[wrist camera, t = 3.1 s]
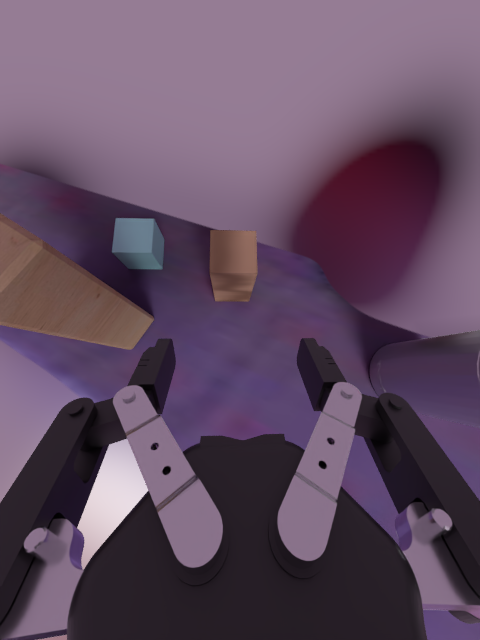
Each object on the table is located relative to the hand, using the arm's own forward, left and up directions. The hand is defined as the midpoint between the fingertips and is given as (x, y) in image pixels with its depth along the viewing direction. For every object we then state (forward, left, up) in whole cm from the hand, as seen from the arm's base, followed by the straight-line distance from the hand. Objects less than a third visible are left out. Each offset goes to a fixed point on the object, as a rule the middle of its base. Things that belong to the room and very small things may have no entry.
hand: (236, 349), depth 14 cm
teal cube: (+13, -16, -18) cm, 27 cm away
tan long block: (0, -11, -18) cm, 21 cm away
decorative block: (+17, -7, -18) cm, 26 cm away
